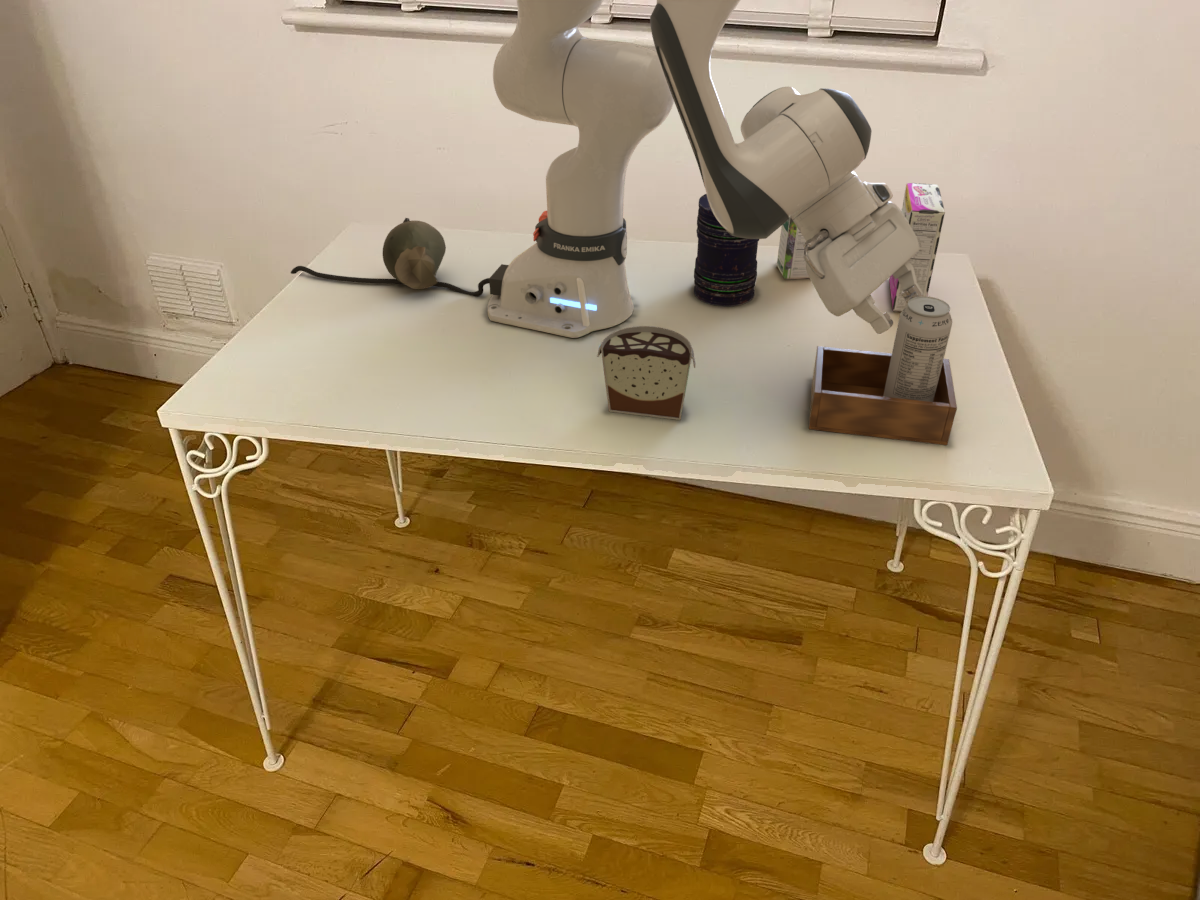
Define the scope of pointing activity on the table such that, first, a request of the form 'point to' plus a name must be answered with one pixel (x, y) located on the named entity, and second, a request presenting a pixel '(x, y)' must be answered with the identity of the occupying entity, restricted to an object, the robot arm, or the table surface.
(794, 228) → the syrup box
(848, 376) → the wooden tray
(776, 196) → the robot arm
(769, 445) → the table surface
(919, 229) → the candy bar box
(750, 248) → the blue barrel
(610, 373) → the food container
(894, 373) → the energy drink can
